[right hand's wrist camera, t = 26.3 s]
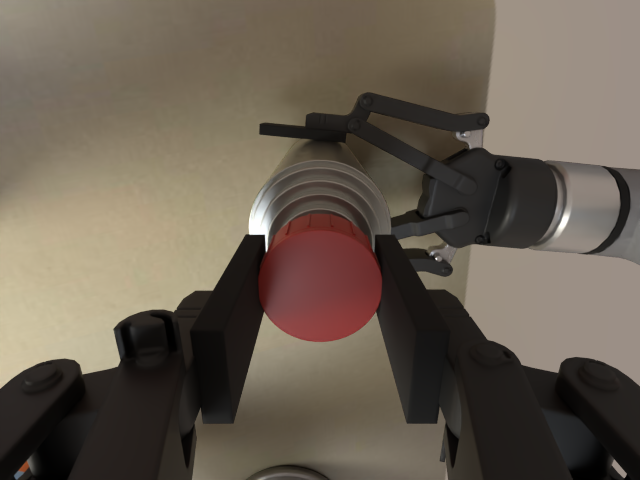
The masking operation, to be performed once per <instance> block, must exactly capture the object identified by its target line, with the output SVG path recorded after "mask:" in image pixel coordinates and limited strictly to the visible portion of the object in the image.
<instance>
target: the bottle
mask: <svg viewBox="0 0 640 480" xmlns="http://www.w3.org/2000/svg"><path fill="white" fill-rule="evenodd" d="M308 214H329V215H330V214H332V215H334V216H338V217H341V218H343V219H346V220H348V221H349V222H350V221H352V222H353V224H354V225H355V226H357V227H358V228H359V229H360V230H361V231H362V232H363V233H364V234H365V235H367V236H368V239H369V241H370V244H371V246H372V249H373V252H374V247H375V234H391V218H390V213H389V209H388V206H387V203H386V201H385V199H384V197H383V195H382V193H381V192H380V190H379V189H378V187H377V186H376V185H375V183H374V182H373V180H372V179H371V178H370V176H369V175H368V173H367V172H366V171H365V169H364V168H363V167H362V165H361V164H360V162H359V161H358V160H357V158H356V157H355V156H354V154H353V153H352V151H351V150H350V149H349V147H348V146H347V145H346V144H345V143H341V142H331V141H321V140H311V139H300V140H299V141H297V142H296V143H295V144H294V145H293V146H292V147H291V149H290V150H289V151H288V153H287V154H286V156H285V157H284V158H283V160H282V161H281V162H280V164H279V165H278V167H277V168H276V169H275V171H274V172H273V174H272V175H271V176H270V178H269V179H268V181H267V182H266V183H265V185H264V186H263V187H262V189H261V190H260V192H259V193H258V195H257V197H256V199H255V201H254V203H253V206H252V209H251V213H250V218H249V234H265V242H266V252H267V249H268V247H269V244H270V242H271V240H272V237H273V235H276V233H277V232H278V231H279V230H280V229H281V228H282V227H283V226H285V225H286V224H288V221H293V220H294V219H297V218H299V217H302V216H306V215H308Z"/></svg>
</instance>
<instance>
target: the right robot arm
mask: <svg viewBox="0 0 640 480" xmlns="http://www.w3.org/2000/svg"><path fill="white" fill-rule="evenodd" d="M265 252H266V242H265V234H246V235H245V237H244V239H243V240H242V242H241V244H240V246H239V247H238V249H237V251H236V252H235V254H234V256H233V258H232V259H231V261H230V263H229V264H228V266H227V268H226V269H225V271H224V273H223V275H222V276H221V278H220V280H219V281H218V283H217V285H216V287H215V288H214V290H213V291H195V292H193V293H192V294H190V295H188V296H187V297H185V298H184V299H183V300H182V302H181V303H180V304H179V306H178V307H177V310H175V311H174V313H173V312H171V311H167V310H149V311H144V312H140V313H137V314H134V315H132V316H129V317H127V318H126V319H124V320H122V321H121V322H119V323H118V325H117V326H116V327H115V328H114V334H115V338H116V342H117V347H118V351H119V355H120V360H121V361H120V363H119V366H118V367H115V368H112V369H108V370H103V371H98V372H93V373H88V374H83V375H82V371H81V368H80V365H79V364H78V363H77V362H76V361H75V360H70V359H57V360H50V361H46V362H42V363H39V364H37V365H35V366H33V367H31V368H29V369H26V370H24V371H23V372H21V373H20V374H18V375H17V376H15V377H14V378H13V379H11V380H10V381H9V382H8V383H7V384H5V385H4V386H3V387H2V388H1V389H0V480H192V474H193V465H194V457H195V448H196V439H197V437H196V430H195V424H194V423H195V420H196V418H197V415H198V413H199V410H200V408H201V412H202V419H203V424H233V423H234V419H235V416H236V412H237V409H238V405H239V401H240V398H241V394H242V390H243V387H244V383H245V379H246V376H247V372H248V368H249V365H250V361H251V357H252V354H253V350H254V346H255V343H256V339H257V336H258V332H259V328H260V325H261V321H262V317H263V314H264V310H263V308H262V306H261V303H260V300H259V286H258V275H259V271H260V265H261V262H262V259H263V257H264V254H265ZM374 253H375V254H376V256H377V259H378V262H379V264H380V267H381V274H382V290H381V301H380V303H379V306H378V308H377V310H376V313H377V316H378V320H379V324H380V327H381V331H382V335H383V338H384V342H385V346H386V349H387V353H388V356H389V360H390V364H391V367H392V371H393V375H394V378H395V382H396V386H397V389H398V393H399V397H400V400H401V404H402V408H403V411H404V415H405V418H406V422H407V424H437V421H438V414H439V407H440V408H441V410H442V413H443V415H444V418H445V420H446V424H445V430H444V436H443V443H442V449H441V456H440V461H442V462H445V457H446V465H447V473H448V480H640V386H639V385H638V384H636V383H635V382H634V381H633V380H632V379H630V378H629V377H628V376H626V375H625V374H624V373H622V372H621V371H619V370H618V369H616V368H614V367H612V366H609V365H607V364H606V363H604V362H601V361H598V360H597V361H596V360H594V359H589V358H580V357H574V358H568V359H565V360H564V361H563V362H562V363H561V365H560V369H559V372H558V373H555V372H550V371H545V370H540V369H535V368H531V367H527V366H523V365H521V363H520V361H519V359H518V358H517V356H516V355H515V354H514V353H513V352H512V351H511V350H509V349H508V348H506V347H505V346H503V345H500V344H498V343H496V342H494V341H489V340H487V339H486V337H485V336H484V335H483V333H482V332H481V330H480V329H479V328H478V326H477V325H476V323H475V322H474V321H473V319H472V318H471V317H469V314H468V312H467V311H466V310H465V309H464V307H463V305H462V304H461V303H460V301H459V300H458V298H457V297H455V296H454V295H452V294H451V293H449V292H448V291H446V290H426V288H425V286H424V284H423V283H422V281H421V279H420V278H419V276H418V274H417V272H416V271H415V269H414V267H413V266H412V264H411V262H410V260H409V259H408V257H407V255H406V254H405V252H404V250H403V248H402V247H401V245H400V243H399V242H398V240H397V238H396V236H395V235H394V234H375V247H374ZM614 459H615V460H616V462H617V463H618V464H619V465H620V466H621V467H622V469H623V470H624V471H625V472H626V473H627V475H626V477H625V478H623V477H622V476H621V475H620V474H619V473H618V472H617V471H616V470H615V469H614V468H613V466H612V463H613V460H614ZM26 461H27V462H28V464H29V468H28V469H27V470H26V471H25V472H24V474H23V475H21V476H20V477H19V478H18V479H15V477H14V475H15V474H16V473H17V472H18V470H19V469H20V468H21V467H22V466H23V465H24V463H25V462H26Z"/></svg>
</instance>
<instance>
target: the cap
mask: <svg viewBox="0 0 640 480" xmlns="http://www.w3.org/2000/svg"><path fill="white" fill-rule="evenodd" d="M258 286H259V300H260V303H261V306H262V308H263V310H264V311H265V313H266V315H267V316H268V317H269V319H270V320H271V321H272V322H273V323H274V324H275V325H276V326H277V327H278V328H280V329H281V330H282V331H284V332H286V333H287V334H289V335H291V336H293V337H296V338H299V339H302V340H307V341H314V342H326V341H333V340H338V339H341V338H344V337H347V336H349V335H351V334H353V333H355V332H356V331H358V330H359V329H361V328H362V327H363V326H364V325H365V324H366V323H367V322H368V321H369V320H370V319H371V318H372V316H373V315H374V314H375V312H376V310H377V308H378V306H379V303H380V301H381V290H382V274H381V267H380V264H379V262H378V259H377V256H376V254H375V253H374V252H373V249H372V246H371V244H370V241H369V239H368V236H367V235H365V234H364V233H363V232H362V231H361V230H360V229H359V228H358V227H357V226H355V225H354V224H353V222H352V221H350V222H349V221H348V220H346V219H343V218H341V217H338V216H334V215H332V214H330V215H329V214H308V215H306V216H302V217H299V218H297V219H294V220H293V221H288V224H286V225H285V226H283V227H282V228H281V229H280V230H279V231H278V232H277V233H276V235H273V237H272V240H271V242H270V244H269V247H268V249H267V252H265V254H264V257H263V259H262V262H261V265H260V271H259V275H258Z"/></svg>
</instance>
